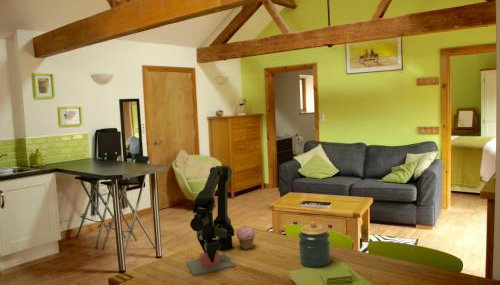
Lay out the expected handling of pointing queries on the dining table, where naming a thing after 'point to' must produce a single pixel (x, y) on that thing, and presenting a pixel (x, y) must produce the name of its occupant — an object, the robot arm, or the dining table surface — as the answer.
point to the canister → (314, 245)
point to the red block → (206, 261)
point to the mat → (197, 269)
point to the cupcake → (245, 237)
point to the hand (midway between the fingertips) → (209, 258)
